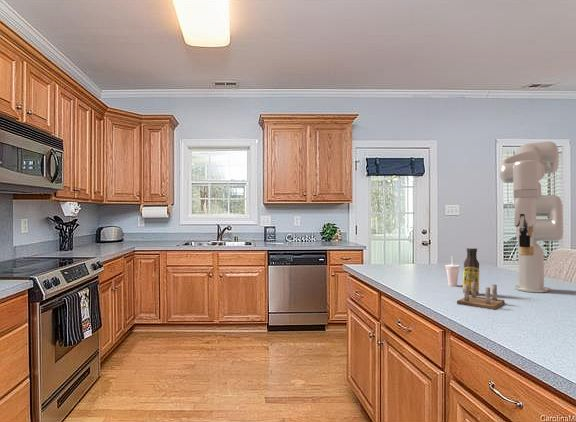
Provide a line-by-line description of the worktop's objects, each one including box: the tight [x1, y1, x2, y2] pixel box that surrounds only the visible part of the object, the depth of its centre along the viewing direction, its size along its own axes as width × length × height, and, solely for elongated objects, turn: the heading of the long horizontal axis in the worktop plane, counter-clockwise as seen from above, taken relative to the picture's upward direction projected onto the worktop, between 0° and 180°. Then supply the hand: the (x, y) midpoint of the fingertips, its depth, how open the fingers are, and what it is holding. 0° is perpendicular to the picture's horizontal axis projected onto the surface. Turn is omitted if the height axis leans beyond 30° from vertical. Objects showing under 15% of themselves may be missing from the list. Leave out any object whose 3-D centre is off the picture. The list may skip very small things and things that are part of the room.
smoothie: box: [444, 255, 461, 287], centre depth 183 cm, size 6×6×14 cm
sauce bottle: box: [462, 247, 480, 296], centre depth 164 cm, size 6×6×20 cm
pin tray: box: [456, 282, 506, 311], centre depth 147 cm, size 13×13×7 cm
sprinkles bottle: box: [519, 221, 534, 256], centre depth 136 cm, size 5×5×13 cm
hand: (526, 245), depth 136 cm, fingers closed on sprinkles bottle, 4 cm apart
